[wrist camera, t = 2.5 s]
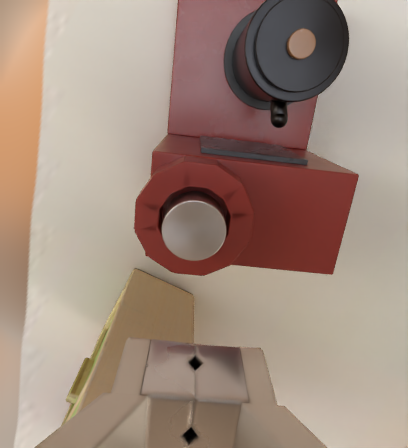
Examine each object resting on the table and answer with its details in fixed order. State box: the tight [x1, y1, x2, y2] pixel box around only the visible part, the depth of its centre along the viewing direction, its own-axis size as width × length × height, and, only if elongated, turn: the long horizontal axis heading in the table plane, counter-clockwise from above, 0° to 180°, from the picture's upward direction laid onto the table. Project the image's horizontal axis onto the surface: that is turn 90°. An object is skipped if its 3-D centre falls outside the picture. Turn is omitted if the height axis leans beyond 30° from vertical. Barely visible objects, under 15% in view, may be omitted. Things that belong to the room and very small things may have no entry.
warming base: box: [168, 0, 338, 165], centre depth 23 cm, size 11×10×11 cm
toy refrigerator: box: [61, 269, 194, 426], centre depth 25 cm, size 8×7×21 cm
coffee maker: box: [134, 134, 359, 276], centre depth 24 cm, size 12×6×14 cm, turn 83°
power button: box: [162, 191, 226, 261], centre depth 17 cm, size 3×3×2 cm
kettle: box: [232, 0, 349, 128], centre depth 22 cm, size 6×9×8 cm, turn 173°
